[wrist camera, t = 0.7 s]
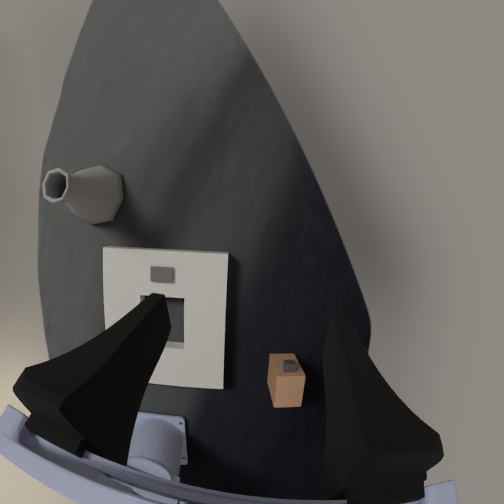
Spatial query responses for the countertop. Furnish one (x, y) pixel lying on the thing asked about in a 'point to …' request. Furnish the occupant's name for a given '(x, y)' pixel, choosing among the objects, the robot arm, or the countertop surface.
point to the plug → (285, 380)
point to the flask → (86, 192)
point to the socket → (177, 286)
